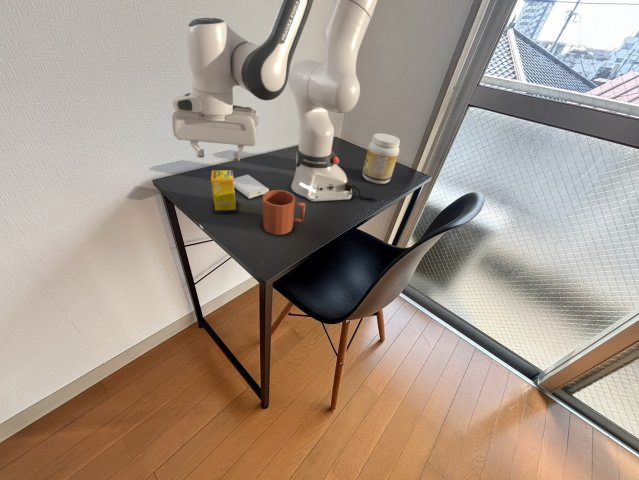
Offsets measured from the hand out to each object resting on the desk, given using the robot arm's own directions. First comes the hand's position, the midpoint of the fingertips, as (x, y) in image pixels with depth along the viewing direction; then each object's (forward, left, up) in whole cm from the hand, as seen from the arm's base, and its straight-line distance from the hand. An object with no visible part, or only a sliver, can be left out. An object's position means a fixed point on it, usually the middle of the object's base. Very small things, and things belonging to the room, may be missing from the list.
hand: (219, 158), depth 74 cm
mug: (-18, +9, -16) cm, 25 cm away
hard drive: (-6, -13, -16) cm, 22 cm away
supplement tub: (-57, -27, -16) cm, 65 cm away
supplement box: (0, 0, -16) cm, 16 cm away
